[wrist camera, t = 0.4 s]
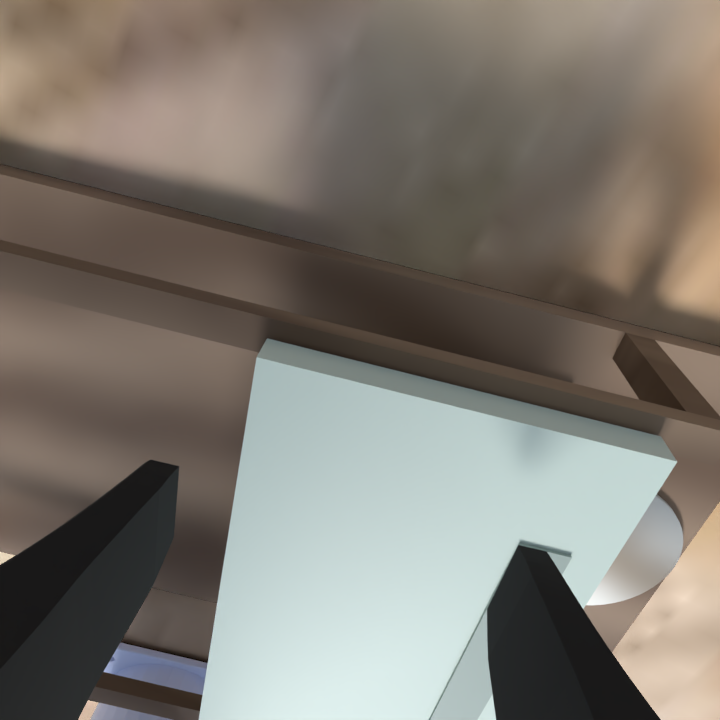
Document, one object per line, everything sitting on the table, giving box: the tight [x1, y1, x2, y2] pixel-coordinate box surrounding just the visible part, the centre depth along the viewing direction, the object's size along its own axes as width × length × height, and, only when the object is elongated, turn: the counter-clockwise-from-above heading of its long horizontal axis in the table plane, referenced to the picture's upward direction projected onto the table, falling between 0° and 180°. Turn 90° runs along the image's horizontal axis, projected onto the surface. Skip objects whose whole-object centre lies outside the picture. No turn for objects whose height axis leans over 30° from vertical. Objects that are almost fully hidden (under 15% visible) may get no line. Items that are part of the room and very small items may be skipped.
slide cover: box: [199, 338, 677, 720], centre depth 17 cm, size 17×10×1 cm, turn 167°
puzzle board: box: [0, 164, 720, 720], centre depth 21 cm, size 18×30×6 cm, turn 77°
